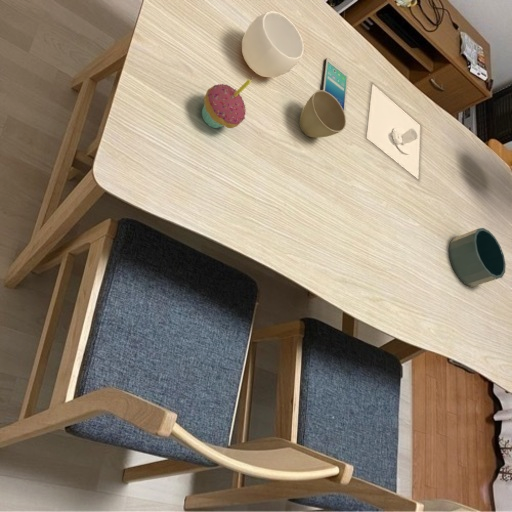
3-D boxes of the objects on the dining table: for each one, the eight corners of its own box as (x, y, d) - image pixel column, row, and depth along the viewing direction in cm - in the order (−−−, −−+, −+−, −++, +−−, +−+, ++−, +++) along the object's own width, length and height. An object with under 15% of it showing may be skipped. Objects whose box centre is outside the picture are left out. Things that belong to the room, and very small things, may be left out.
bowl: (475, 246, 158) (500, 236, 153) (483, 292, 152) (509, 283, 147) (445, 231, 151) (471, 221, 145) (452, 279, 145) (479, 270, 140)
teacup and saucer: (388, 142, 147) (401, 134, 144) (390, 120, 151) (402, 112, 148) (410, 160, 151) (423, 153, 148) (411, 138, 155) (424, 131, 152)
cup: (284, 71, 129) (314, 46, 122) (262, 97, 121) (292, 71, 114) (247, 28, 126) (275, -1, 119) (222, 51, 118) (251, 22, 111)
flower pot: (326, 124, 132) (348, 108, 127) (319, 155, 127) (343, 140, 122) (294, 98, 128) (316, 81, 123) (286, 129, 123) (309, 112, 118)
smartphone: (348, 73, 144) (344, 116, 137) (345, 75, 145) (342, 118, 137) (327, 56, 141) (322, 99, 133) (324, 58, 141) (319, 101, 134)
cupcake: (201, 89, 110) (238, 53, 102) (234, 116, 114) (273, 84, 105) (187, 119, 105) (225, 84, 97) (223, 146, 109) (262, 115, 100)
